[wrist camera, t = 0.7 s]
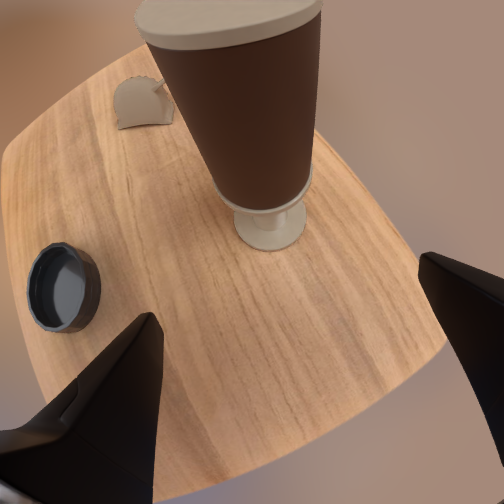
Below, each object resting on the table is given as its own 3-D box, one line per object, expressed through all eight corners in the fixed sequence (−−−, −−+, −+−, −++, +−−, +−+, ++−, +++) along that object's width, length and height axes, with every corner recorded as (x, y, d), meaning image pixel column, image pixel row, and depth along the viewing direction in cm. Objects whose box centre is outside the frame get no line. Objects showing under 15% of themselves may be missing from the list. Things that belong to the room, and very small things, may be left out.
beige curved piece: (128, 103, 30) (109, 74, 25) (193, 96, 29) (178, 62, 24) (117, 130, 29) (94, 101, 24) (184, 124, 28) (166, 89, 23)
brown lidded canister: (330, 163, 16) (359, -15, 6) (263, 232, 16) (215, 57, 5) (259, 114, 18) (230, -44, 7) (193, 172, 17) (105, 19, 6)
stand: (320, 215, 24) (333, 163, 16) (271, 267, 23) (263, 235, 15) (268, 173, 25) (259, 112, 18) (220, 220, 25) (191, 172, 17)
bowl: (116, 291, 24) (100, 287, 22) (67, 350, 23) (50, 350, 21) (75, 233, 26) (60, 225, 24) (33, 289, 25) (17, 285, 23)
